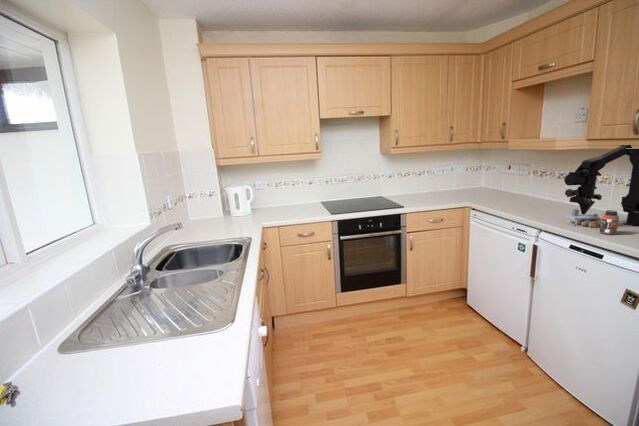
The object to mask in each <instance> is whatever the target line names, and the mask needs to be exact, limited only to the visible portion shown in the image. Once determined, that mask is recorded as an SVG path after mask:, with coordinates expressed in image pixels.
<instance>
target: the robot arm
mask: <svg viewBox="0 0 639 426" xmlns="http://www.w3.org/2000/svg"><path fill="white" fill-rule="evenodd" d="M626 148H632V147H631V145H623V144H621V145H619V146H618V147H616V148H614V149H612V150H610V151H607V152H605V153H604V154H601V155H599V156H596V157H591V158H588V159H585V160H583V161H581V163H580V165H579V166H578V167H577V169H576V170H574V171H569V172H568V174H567V175H566V176H564V180H563V181H564V183H565V185H566V186H578V187H577V189H571V188H569V189H566V190H565V191H564V195H565V196H566V198H569V197H570V198H569V203H574V204H575V203H577V204H578V205H579V208H580V209H579V210H580V213H581V215H587V213H588V211H589V210H590V209H591V208H592V206H593V205H594V204H595V203H596V201H594V200H597V201H600V200H602V197H603V196H602V195H601V194H600V193H595V190H597V188H598V186H596V185H597V184H596V183H597V179H598V177H601V176H602V174H601V172H599V171H600V170H602V169H604V168H605V166H606V165H607V164H609V163H610V162H613V161H615V160H617V159H619V158H622V157H623V156H625V155H626V156H628V157H629V160H628V161H629V162H630V164H631V165H632V170H631V173H630V175H631V176H630V182H629V188H628V193H627V194H626V195H625V196H622V197H621V203H620V204H621V207H622V211H623V212H624V213H627V216H626V222H623V223H622V224H623V225H627V226H633V227H639V149H626Z"/></svg>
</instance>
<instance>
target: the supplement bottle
mask: <svg viewBox="0 0 639 426" xmlns="http://www.w3.org/2000/svg"><path fill="white" fill-rule="evenodd" d="M601 219H602V220H601V225H599V226H600V227H599V233H600V234H601V235H602V234H603V235H607V236H615V235H616V234H617V231H618V226H619V220H620V217H619V215H618V210H614V209H613V210H610V209H606V210H605V213H604V214H602V216H601Z"/></svg>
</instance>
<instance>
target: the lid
mask: <svg viewBox="0 0 639 426" xmlns="http://www.w3.org/2000/svg"><path fill="white" fill-rule="evenodd" d="M571 210H572V211H571V214H565V218H568V219H571V220H574V221H575V220H581V219H601V217H600V216H599V214H597V213H596V214H595V213H594V214H585V215H583V214H579V213H580V209H577V208H572V209H571Z"/></svg>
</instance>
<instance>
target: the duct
mask: <svg viewBox="0 0 639 426" xmlns="http://www.w3.org/2000/svg"><path fill="white" fill-rule="evenodd" d="M586 220H593V222H589V225H588V226H587V227H588V229H592V228H595V227H599V226H600V225H601V220H602V218H600V219H581V220H574V226H577V227H578V226H579V225H580V226H582V225H581V222H583V221H586Z"/></svg>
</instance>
